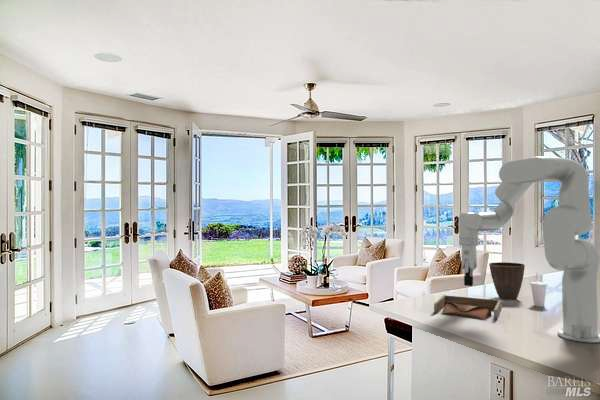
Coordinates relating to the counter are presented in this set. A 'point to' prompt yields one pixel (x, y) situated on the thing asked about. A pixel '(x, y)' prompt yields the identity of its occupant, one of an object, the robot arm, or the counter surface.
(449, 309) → the sunglasses case
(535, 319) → the counter surface
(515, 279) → the plant pot
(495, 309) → the walnut bracket
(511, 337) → the counter surface
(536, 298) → the smoothie
